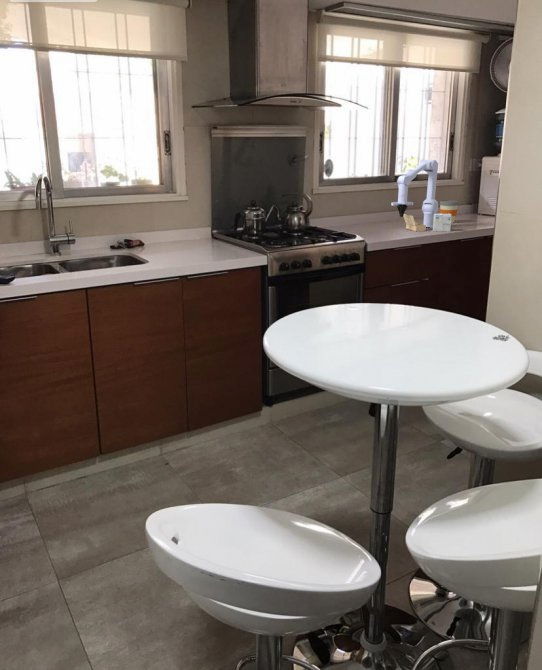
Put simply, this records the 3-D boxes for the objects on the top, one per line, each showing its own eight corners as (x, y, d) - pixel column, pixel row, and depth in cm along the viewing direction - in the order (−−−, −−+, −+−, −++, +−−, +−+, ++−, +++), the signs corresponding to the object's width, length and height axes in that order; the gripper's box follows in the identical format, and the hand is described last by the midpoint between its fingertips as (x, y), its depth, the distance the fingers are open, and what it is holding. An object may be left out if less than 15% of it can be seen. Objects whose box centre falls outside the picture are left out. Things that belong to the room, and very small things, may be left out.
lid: (406, 222, 392) (405, 223, 391) (403, 214, 389) (402, 214, 389) (416, 225, 380) (415, 225, 380) (413, 216, 377) (412, 216, 377)
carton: (405, 229, 393) (406, 222, 392) (415, 228, 395) (415, 222, 394) (415, 231, 381) (416, 225, 380) (425, 231, 383) (426, 225, 382)
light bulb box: (448, 230, 389) (450, 213, 385) (450, 231, 382) (452, 214, 379) (432, 229, 390) (433, 213, 386) (433, 231, 383) (435, 214, 380)
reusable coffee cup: (447, 224, 416) (449, 202, 411) (434, 222, 426) (436, 200, 422) (460, 222, 422) (462, 201, 417) (447, 220, 432) (449, 199, 428)
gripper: (395, 196, 372) (394, 217, 377) (416, 195, 376) (414, 217, 380) (390, 195, 379) (389, 216, 383) (410, 194, 383) (409, 215, 387)
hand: (401, 216), depth 382 cm, fingers closed
